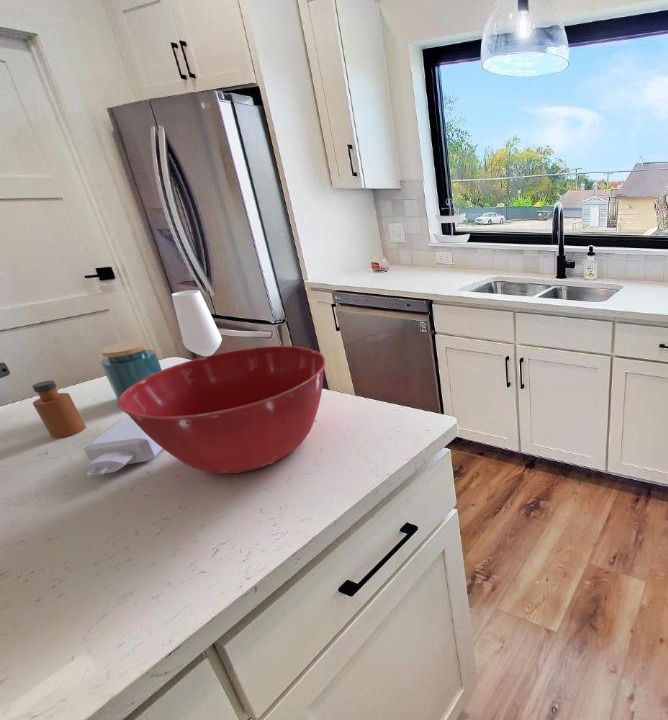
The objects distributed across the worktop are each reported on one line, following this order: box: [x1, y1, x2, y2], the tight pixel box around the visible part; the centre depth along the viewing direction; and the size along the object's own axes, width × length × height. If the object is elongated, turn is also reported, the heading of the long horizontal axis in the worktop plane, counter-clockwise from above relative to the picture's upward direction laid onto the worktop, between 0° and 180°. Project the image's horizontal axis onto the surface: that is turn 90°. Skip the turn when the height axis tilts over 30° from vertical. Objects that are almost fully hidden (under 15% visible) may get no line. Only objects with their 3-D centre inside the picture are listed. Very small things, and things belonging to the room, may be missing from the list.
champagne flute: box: [171, 289, 223, 357], centre depth 93 cm, size 7×7×24 cm
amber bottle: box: [31, 380, 87, 439], centre depth 81 cm, size 5×5×11 cm
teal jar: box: [99, 340, 163, 401], centre depth 94 cm, size 9×9×12 cm
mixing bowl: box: [117, 345, 326, 474], centre depth 73 cm, size 28×28×16 cm
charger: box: [82, 417, 164, 477], centre depth 73 cm, size 5×9×15 cm
